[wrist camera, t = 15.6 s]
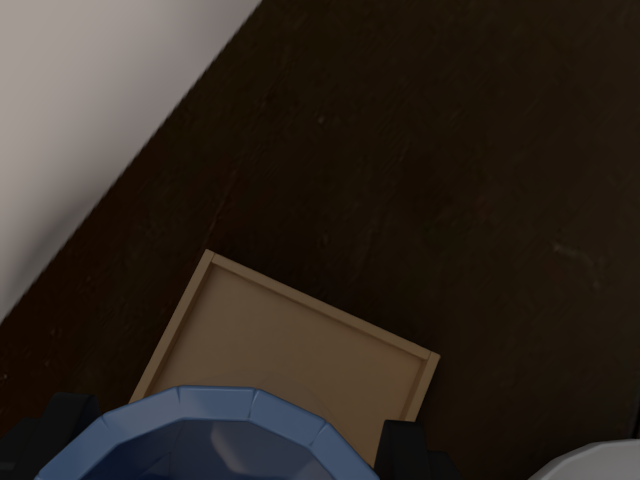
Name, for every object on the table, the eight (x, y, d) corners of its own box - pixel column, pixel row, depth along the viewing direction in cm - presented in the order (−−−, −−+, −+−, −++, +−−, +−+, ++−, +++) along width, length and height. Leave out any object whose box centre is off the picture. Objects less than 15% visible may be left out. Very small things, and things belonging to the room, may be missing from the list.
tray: (109, 457, 33) (97, 464, 31) (210, 254, 36) (205, 248, 34) (347, 569, 32) (351, 583, 30) (432, 355, 35) (440, 355, 33)
